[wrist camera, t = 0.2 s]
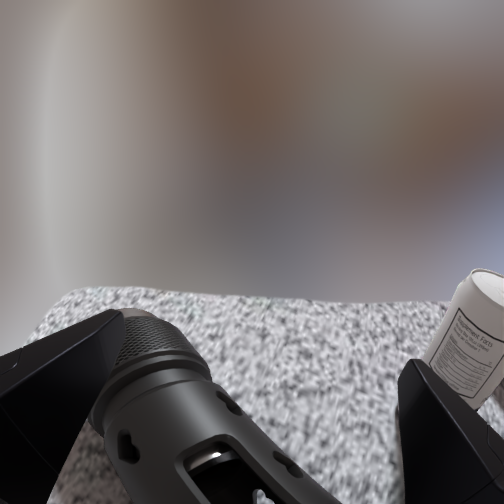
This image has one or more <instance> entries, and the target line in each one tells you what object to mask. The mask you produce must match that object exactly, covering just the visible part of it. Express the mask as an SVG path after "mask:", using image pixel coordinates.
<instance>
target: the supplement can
mask: <svg viewBox="0 0 504 504" xmlns="http://www.w3.org/2000/svg"><path fill="white" fill-rule="evenodd" d="M421 360H423V361H424V362H425V363H426V364H427V365H428V366H429V367H430V368H431V369H432V370H433V371H434V372H435V373H436V374H437V375H439V376H440V377H441V378H442V379H443V380H444V381H445V382H446V383H447V384H448V385H449V386H450V387H451V388H452V389H453V390H454V391H455V392H456V393H457V394H458V395H459V396H460V397H461V398H462V399H463V400H465V401H466V402H467V403H468V404H469V405H470V406H471V407H472V408H473V409H474V410H475V411H476V412H477V411H478V410H479V408H480V407H481V406H482V405H483V404H484V402H485V401H486V400H487V399H488V398H489V396H490V395H491V394H492V392H493V391H494V390H495V389H496V387H497V386H498V385H499V383H500V382H501V381H502V379H503V378H504V276H503V275H501V274H499V273H496V272H494V271H491V270H486V269H474V270H472V271H471V274H470V275H469V276H468V277H467V278H465V279H464V280H463V281H462V282H461V283H460V284H458V287H457V289H456V291H455V294H454V296H453V298H452V300H451V303H450V305H449V307H448V309H447V311H446V313H445V315H444V317H443V319H442V321H441V323H440V325H439V327H438V329H437V331H436V333H435V335H434V337H433V339H432V341H431V343H430V345H429V346H428V348H427V350H426V352H425V354H424V355H423V357H422V359H421ZM398 411H399V405H398Z"/></svg>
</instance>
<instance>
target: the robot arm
mask: <svg viewBox="0 0 504 504" xmlns="http://www.w3.org/2000/svg"><path fill="white" fill-rule="evenodd" d="M125 338H126V327H125V321H124V315H123V313H122V312H121V311H118V310H115V309H109V310H106V311H104V312H102V313H99V314H97V315H95V316H92V317H90V318H88V319H86V320H83V321H81V322H79V323H76V324H74V325H72V326H70V327H67V328H65V329H63V330H60V331H58V332H56V333H54V334H51V335H49V336H47V337H44V338H42V339H40V340H38V341H35V342H33V343H31V344H28V345H26V346H24V347H23V348H19V349H17V350H15V351H12V352H10V353H8V354H5V355H3V356H0V504H46V503H47V501H48V499H49V497H50V494H51V492H52V490H53V487H54V485H55V483H56V481H57V479H58V476H59V474H60V472H61V470H62V467H63V465H64V463H65V461H66V459H67V457H68V455H69V453H70V451H71V449H72V447H73V445H74V443H75V441H76V439H77V437H78V435H79V433H80V431H81V429H82V427H83V425H84V423H85V421H86V419H87V417H88V415H89V413H90V411H91V409H92V407H93V405H94V404H95V402H96V400H97V398H98V396H99V394H100V392H101V391H102V389H103V387H104V385H105V383H106V381H107V379H108V378H109V376H110V373H111V371H112V369H113V366H114V364H115V362H116V359H117V357H118V354H119V352H120V350H121V347H122V345H123V343H124V340H125ZM398 405H399V428H400V437H401V446H402V457H403V469H404V485H405V504H504V439H503V438H502V437H501V436H500V435H499V434H498V433H497V432H496V431H495V430H494V429H493V428H492V427H491V426H490V425H487V422H486V421H485V420H484V419H483V418H482V417H481V416H480V415H479V414H478V413H477V412H476V411H475V410H474V409H473V408H472V407H471V406H470V405H469V404H468V403H467V402H466V401H465V400H463V399H462V398H461V397H460V396H459V395H458V394H457V393H456V392H455V391H454V390H453V389H452V388H451V387H450V386H449V385H448V384H447V383H446V382H445V381H444V380H443V379H442V378H441V377H440V376H439V375H437V374H436V373H435V372H434V371H433V370H432V369H431V368H430V367H429V366H428V365H427V364H426V363H425V362H424V361H423V360H421V359H410V360H409V361H408V362H407V363H406V365H405V367H404V369H403V371H402V372H401V374H400V376H399V378H398Z"/></svg>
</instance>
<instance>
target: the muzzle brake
mask: <svg viewBox="0 0 504 504" xmlns="http://www.w3.org/2000/svg"><path fill="white" fill-rule="evenodd" d="M117 310H118V311H121V312H122V313H123V315H124V321H125V327H126V338H125V340H124V343H123V345H122V347H121V350H120V352H119V354H118V357H117V359H116V362H115V364H114V366H113V369H112V371H111V373H110V376H109V378H108V379H107V381H106V383H105V385H104V387H103V389H102V391H101V392H100V394H99V396H98V398H97V400H96V402H95V404H94V405H93V407H92V409H91V411H90V413H89V415H88V417H87V419H88V422H89V423H90V425H91V426H92V427H93V429H94V430H95V431H97V432H98V433H99V434H100V436H102V437H103V438H104V448H105V450H106V453H107V455H108V457H109V459H110V461H111V463H112V464H113V466H114V468H115V470H116V472H117V474H118V476H119V477H120V479H121V481H122V483H123V485H124V487H125V489H126V491H127V493H128V494H129V496H130V498H131V499H132V501H133V503H134V504H257V492H258V490H260V489H261V490H262V491H263V492H264V493H265V496H266V498H269V499H271V500H272V501H273V502H274V503H275V504H342V503H341V502H340V501H338V500H337V499H336V498H335V497H333V496H332V495H331V494H330V493H329V492H327V491H326V490H325V489H324V488H323V487H322V486H320V485H319V484H318V483H317V482H316V481H315V480H314V479H312V478H311V477H310V476H309V475H308V474H307V473H306V472H305V471H304V470H302V469H301V468H300V467H299V466H298V465H297V464H296V463H295V462H294V461H293V460H292V459H291V458H290V457H288V456H287V455H286V454H285V453H284V452H283V451H282V450H281V449H280V448H279V447H278V446H277V445H276V444H275V443H274V442H273V441H272V440H271V439H270V438H269V437H268V436H267V435H266V434H265V433H264V432H263V431H262V430H261V429H260V428H259V427H258V426H257V425H256V424H255V423H254V422H253V421H252V420H251V418H250V417H249V416H248V415H247V414H246V413H245V412H244V411H243V410H242V409H241V408H240V407H239V406H238V404H237V403H236V402H235V401H234V400H233V399H232V398H231V397H230V396H229V395H228V393H227V392H226V391H225V390H224V389H223V388H222V387H221V386H220V385H218V384H215V383H213V382H212V377H211V374H210V369H209V367H208V365H207V363H206V361H205V360H204V359H203V358H202V357H201V356H200V354H199V353H198V352H197V351H196V350H195V348H194V347H193V346H192V345H191V343H190V342H189V341H188V340H187V338H186V337H185V336H184V335H183V334H182V332H181V331H180V330H179V329H178V328H177V327H175V326H174V325H172V324H171V323H169V322H167V321H164V320H162V319H159V318H158V317H156V316H155V315H153V314H152V313H149V312H147V311H144V310H140V309H135V308H123V309H117Z"/></svg>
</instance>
